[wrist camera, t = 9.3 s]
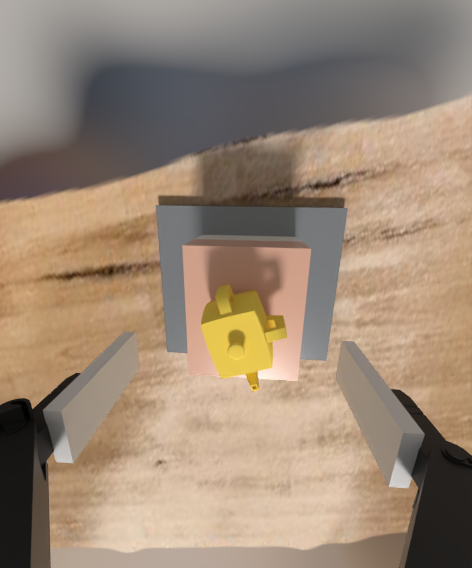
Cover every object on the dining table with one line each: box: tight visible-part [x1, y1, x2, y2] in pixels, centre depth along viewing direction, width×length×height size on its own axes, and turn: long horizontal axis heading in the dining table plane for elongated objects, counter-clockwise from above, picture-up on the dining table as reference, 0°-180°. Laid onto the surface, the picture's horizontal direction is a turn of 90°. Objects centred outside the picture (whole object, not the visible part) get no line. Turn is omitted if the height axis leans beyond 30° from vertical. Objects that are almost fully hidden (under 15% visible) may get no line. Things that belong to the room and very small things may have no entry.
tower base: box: [156, 205, 347, 381], centre depth 25 cm, size 20×18×9 cm
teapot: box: [201, 284, 287, 391], centre depth 19 cm, size 8×6×5 cm
